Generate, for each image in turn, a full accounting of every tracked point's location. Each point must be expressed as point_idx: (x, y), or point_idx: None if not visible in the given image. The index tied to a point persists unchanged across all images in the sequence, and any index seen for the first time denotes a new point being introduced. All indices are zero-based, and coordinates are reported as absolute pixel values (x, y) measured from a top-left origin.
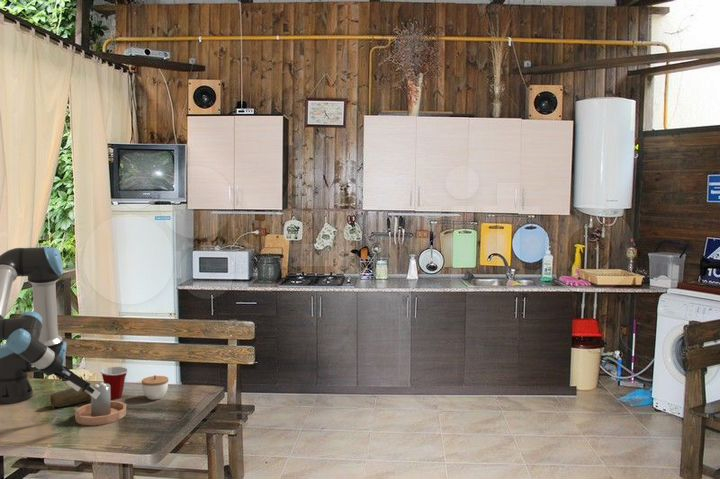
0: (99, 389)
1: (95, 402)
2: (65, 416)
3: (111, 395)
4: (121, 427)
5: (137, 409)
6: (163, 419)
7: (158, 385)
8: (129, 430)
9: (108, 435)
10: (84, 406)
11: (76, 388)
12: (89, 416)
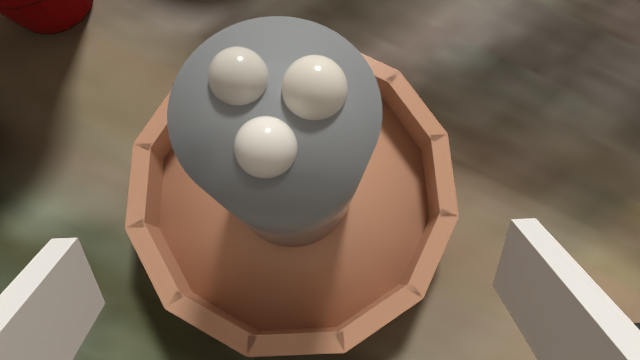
0: (368, 162)
1: (328, 222)
2: (108, 348)
3: (61, 10)
4: (548, 195)
5: (340, 14)
6: (574, 3)
7: None
8: (621, 187)
9: (626, 306)
10: (149, 233)
11: (78, 325)
12: (378, 304)
